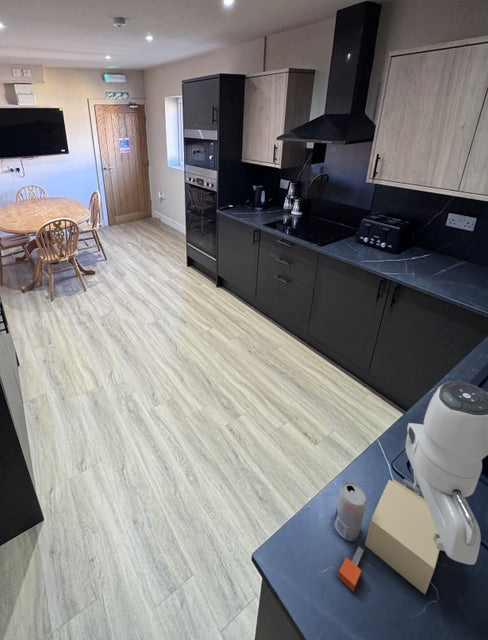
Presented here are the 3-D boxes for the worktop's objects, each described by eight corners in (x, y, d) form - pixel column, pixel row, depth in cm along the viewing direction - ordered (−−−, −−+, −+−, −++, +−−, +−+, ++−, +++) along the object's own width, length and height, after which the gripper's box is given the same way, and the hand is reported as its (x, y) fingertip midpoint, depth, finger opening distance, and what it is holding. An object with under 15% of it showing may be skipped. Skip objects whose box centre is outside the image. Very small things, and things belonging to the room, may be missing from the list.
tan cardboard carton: (383, 503, 82) (389, 479, 79) (439, 543, 74) (448, 518, 71) (364, 544, 73) (370, 519, 71) (425, 595, 65) (434, 568, 63)
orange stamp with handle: (353, 591, 66) (355, 585, 65) (337, 576, 68) (339, 571, 68) (368, 556, 71) (369, 551, 71) (353, 544, 74) (354, 538, 73)
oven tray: (394, 484, 85) (399, 466, 83) (442, 517, 78) (449, 497, 76) (372, 534, 75) (377, 514, 72) (426, 577, 67) (433, 556, 65)
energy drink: (351, 515, 79) (358, 480, 75) (363, 541, 74) (371, 505, 70) (329, 516, 79) (336, 481, 75) (340, 542, 74) (347, 506, 70)
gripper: (503, 536, 48) (478, 593, 52) (439, 422, 66) (425, 470, 71) (453, 524, 49) (433, 580, 54) (405, 416, 68) (393, 464, 72)
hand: (428, 517), depth 62 cm, fingers open, 8 cm apart
